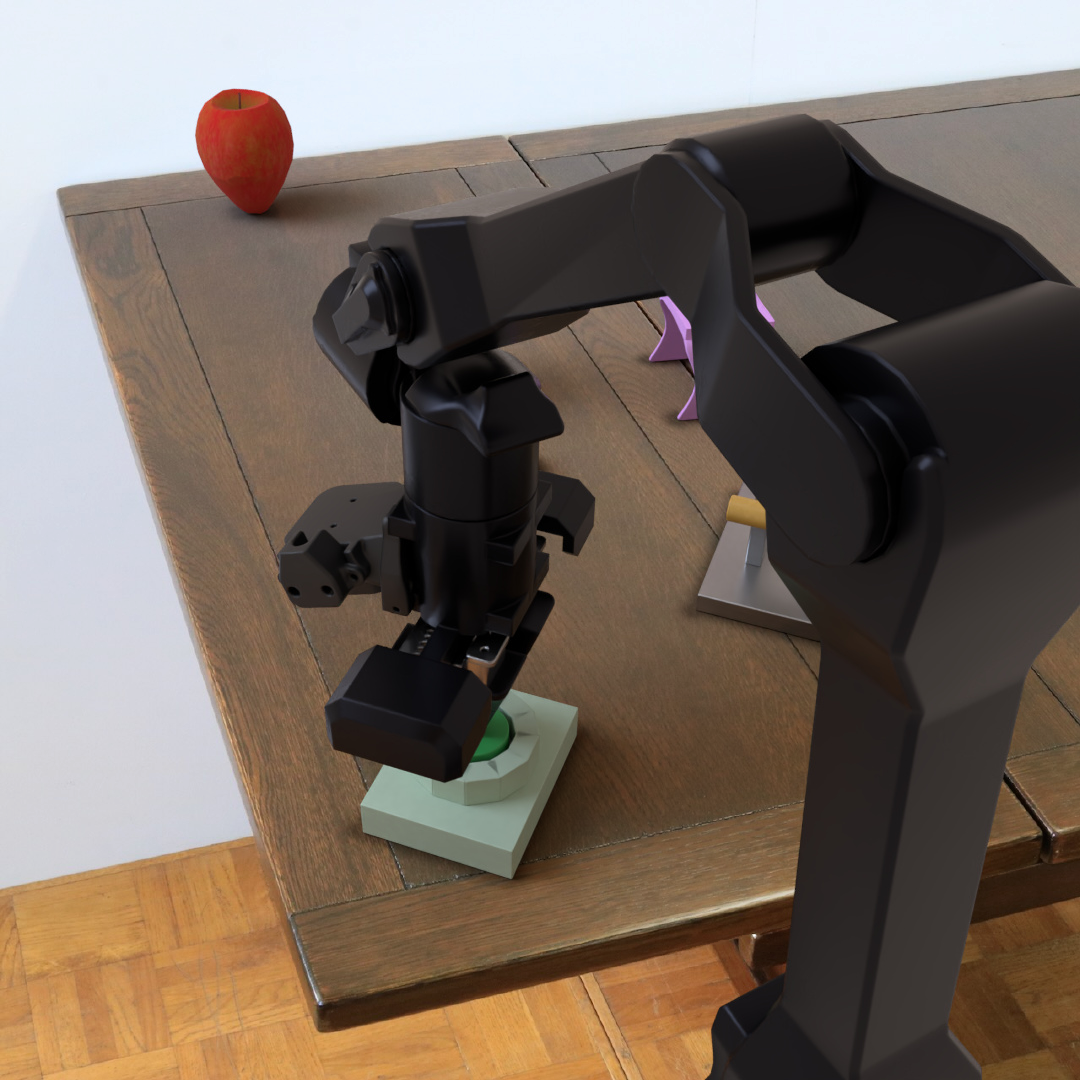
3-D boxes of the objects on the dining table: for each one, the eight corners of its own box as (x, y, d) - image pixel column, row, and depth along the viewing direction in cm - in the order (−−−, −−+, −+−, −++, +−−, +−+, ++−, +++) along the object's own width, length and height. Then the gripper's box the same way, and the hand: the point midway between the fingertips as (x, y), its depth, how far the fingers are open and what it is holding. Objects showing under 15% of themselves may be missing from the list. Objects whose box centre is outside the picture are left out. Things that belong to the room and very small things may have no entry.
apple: (186, 206, 119) (168, 87, 112) (268, 181, 124) (254, 65, 117) (237, 241, 114) (220, 119, 107) (319, 213, 119) (309, 95, 112)
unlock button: (493, 787, 66) (493, 763, 65) (426, 767, 67) (426, 743, 66) (518, 735, 68) (519, 712, 67) (454, 717, 69) (453, 694, 68)
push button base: (512, 879, 64) (513, 828, 62) (362, 832, 66) (357, 780, 64) (576, 735, 72) (580, 683, 69) (440, 696, 74) (438, 645, 71)
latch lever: (834, 559, 69) (844, 517, 68) (722, 532, 71) (730, 491, 70) (858, 486, 79) (866, 449, 78) (759, 464, 80) (766, 427, 79)
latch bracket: (844, 648, 77) (875, 518, 71) (695, 610, 80) (712, 480, 73) (875, 527, 86) (906, 401, 80) (740, 496, 88) (759, 371, 82)
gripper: (390, 337, 65) (403, 575, 75) (189, 569, 52) (237, 822, 62) (606, 383, 62) (590, 624, 72) (453, 641, 49) (459, 894, 59)
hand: (473, 728), depth 66 cm, fingers closed, pressing on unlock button
